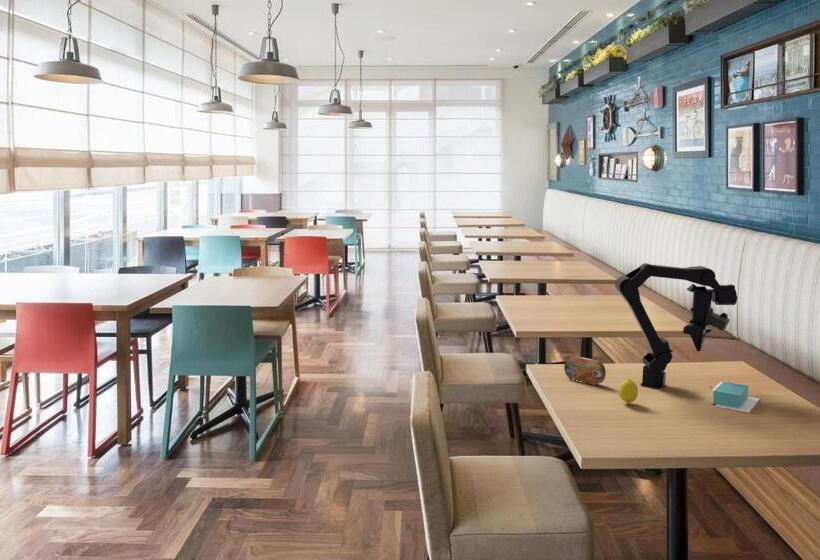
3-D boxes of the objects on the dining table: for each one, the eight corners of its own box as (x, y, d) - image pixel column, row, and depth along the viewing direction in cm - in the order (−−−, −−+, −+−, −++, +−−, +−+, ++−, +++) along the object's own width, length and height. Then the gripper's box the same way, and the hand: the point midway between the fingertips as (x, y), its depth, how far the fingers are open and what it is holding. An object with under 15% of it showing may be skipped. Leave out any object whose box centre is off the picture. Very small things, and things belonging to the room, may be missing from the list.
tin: (563, 378, 249) (564, 354, 248) (568, 376, 251) (569, 353, 250) (601, 387, 238) (602, 363, 237) (606, 385, 240) (607, 361, 239)
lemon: (638, 402, 223) (639, 377, 222) (635, 407, 218) (637, 382, 217) (620, 400, 225) (621, 375, 224) (617, 405, 220) (618, 380, 219)
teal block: (712, 390, 221) (739, 395, 216) (721, 381, 230) (748, 385, 226) (711, 402, 221) (738, 408, 217) (720, 393, 231) (747, 397, 226)
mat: (715, 406, 219) (715, 405, 219) (727, 394, 231) (727, 393, 231) (749, 412, 214) (749, 411, 214) (759, 399, 226) (759, 398, 226)
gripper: (720, 312, 224) (717, 360, 226) (734, 303, 239) (731, 348, 241) (684, 308, 230) (681, 355, 233) (699, 299, 245) (696, 344, 248)
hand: (698, 351), depth 238 cm, fingers closed
